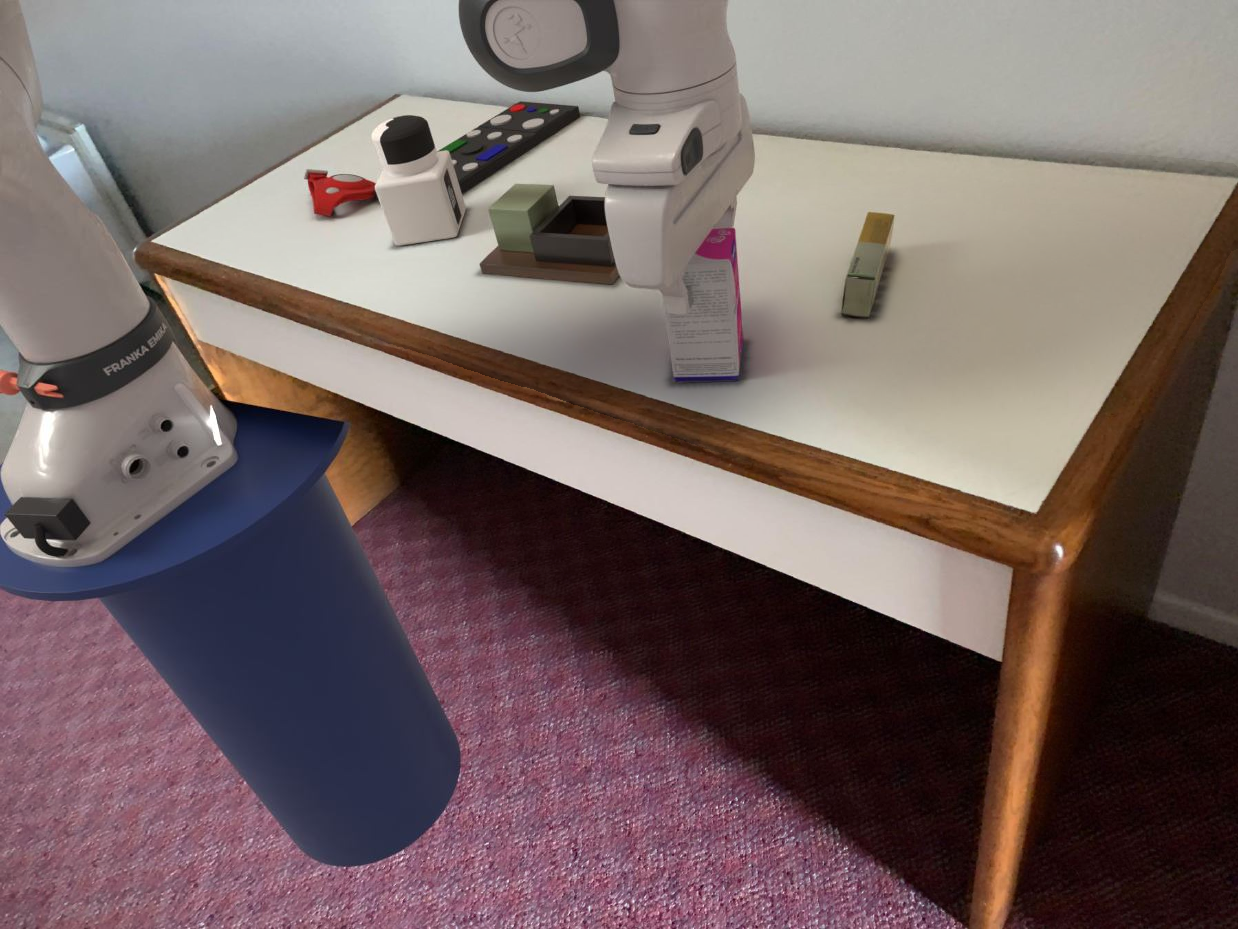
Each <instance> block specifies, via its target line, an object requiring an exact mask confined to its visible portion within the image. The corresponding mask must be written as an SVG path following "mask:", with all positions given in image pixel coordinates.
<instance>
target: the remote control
mask: <svg viewBox="0 0 1238 929" xmlns="http://www.w3.org/2000/svg"><path fill="white" fill-rule="evenodd" d="M580 117H581V112H580V108H579V105H569V104H556V103H544V102H534V101H521V100H519V101H518V102H516V103H515V104H513V105H511V106H509V107H508V108H506V109H504V110H503V111H501V112H499V113H498V114H496V115H495V116H492V117H491V118H490V119H487V120H486V121H485V122H483V123H482V124H480V125H478V126H476V127H475V128H473V129H471V130H470V131H468V132H467V133H465V134H464V135H462V136H460V137H459V138H457V139H455V140H454V141H451V143H449V144H447V145H446V146H443V148H441V149H439V150H436V151H437V152H439V151H445V150H447V151H449V153H450V156H451V159H452V163H453V166H454V169H455V173H456V176H457V180H458V183H459V186H460V190H461V193H462V195H463V194H464V193H466V192H467V191H469V190H470V189H472V188H473V187H475V186H477V185H478V184H480V183H481V182H483V181H485V180H486V179H487V178H489V177H490V176H492V175H493V174H495V173H496V172H498V171H499V170H501V169H502V168H504V167H505V166H507V165H509V164H511V162H513V161H515V160H516V159H518V158H519V157H521V156H523V155H524V154H525V153H527V152H528V151H530V150H532V149H533V148H535V147H536V146H537V145H539V144H540V143H542V142H544V141H545V140H547V139H549V138H550V137H551V136H552V135H555V134H556V133H557V132H559V131H560V130H562V129H564V128H565V127H566V126H568V125H569V124H571V123H573V122H574V121H576V120H577V119H579V118H580ZM373 192H374V194H375V197H374V198H375V200H376V201H377V202H379V199H378V196H377V193H376V190H375V189H374V190H373Z"/></svg>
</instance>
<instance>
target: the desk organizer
mask: <svg viewBox="0 0 1238 929" xmlns="http://www.w3.org/2000/svg"><path fill="white" fill-rule="evenodd" d="M487 210H488V213H489V218H490V221H491V225H492V228H493V231H494V235H495V238H496V242H497V246H496V247H495V248H494V249H493V250H491V252H490V253H488V255H487V256H485V258H484V259H482V260H481V261H480V263H479V267H480V271H481V274H485V275H486V274H487V275H497V276H499V275H500V276H508V277H509V276H510V277H522V278H533V279H542V280H543V279H545V280H556V281H566V282H567V281H568V282H579V283H589V284H591V283H592V284H602V285H613V284H614V283H615V282H616V280H617V279H618V278H619V277H620V275H619V273H618V270H617V266H616V262H615V258H614V254H613V250H612V246H611V241H610V237H609V232H608V227H607V222H606V215H605V196H587V195H568V196H567V197H566V198H565V199H564V200H563V201H562V202H561V203H560V204H559V202H558V197H557V193H556V188H555V185H554V184H541V183H539V184H537V183H514V184H513V185H512V186H511V187H510V188H508V190H506V191H505V192H504V193H502V195H500V197H499V198H497V199H496V200H495V201H494V202H493V203H492V204H491V205H490V206H489V207H488V208H487Z"/></svg>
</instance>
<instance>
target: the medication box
mask: <svg viewBox="0 0 1238 929" xmlns="http://www.w3.org/2000/svg"><path fill="white" fill-rule="evenodd" d="M894 223H895V214H891V213H885V212H875V211H867V213H866V216H865V219H864V222H863V225H862V228H861V230H860V234H859V237H858V240H857V243H856V246H855V249H854V252H853V255H852V258H851V261H850V264H849V267H848V270H847V273H846V276H845V280H844V286H843V295H842V300H841V311H840V314H841V315H843V316H847V317H854V318H859V319H860V318H861V319H865V318H866V319H869V318H870V316H871V312H872V308H873V305H874V302H875V300H876V296H877V292H878V289H879V284H880V282H881V278H882V274H883V270H884V268H885V264H886V261H887V257H888V254H889V250H890V246H891V242H892V237H893V233H894V232H893V231H894V225H895V224H894Z"/></svg>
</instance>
